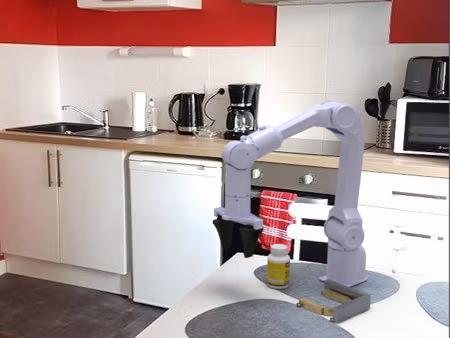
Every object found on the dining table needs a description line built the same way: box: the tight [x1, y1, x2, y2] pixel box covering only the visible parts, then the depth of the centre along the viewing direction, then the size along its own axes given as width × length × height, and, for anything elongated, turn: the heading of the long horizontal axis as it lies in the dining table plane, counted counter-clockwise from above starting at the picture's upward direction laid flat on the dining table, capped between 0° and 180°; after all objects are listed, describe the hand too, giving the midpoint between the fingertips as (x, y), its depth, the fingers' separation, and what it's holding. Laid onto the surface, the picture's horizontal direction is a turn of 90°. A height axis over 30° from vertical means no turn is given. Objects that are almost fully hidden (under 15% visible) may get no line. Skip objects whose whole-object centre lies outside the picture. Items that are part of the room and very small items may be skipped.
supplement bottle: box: [266, 243, 291, 290], centre depth 137 cm, size 5×5×10 cm
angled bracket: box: [295, 279, 372, 324], centre depth 126 cm, size 12×12×3 cm
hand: (237, 252), depth 131 cm, fingers open, 7 cm apart
